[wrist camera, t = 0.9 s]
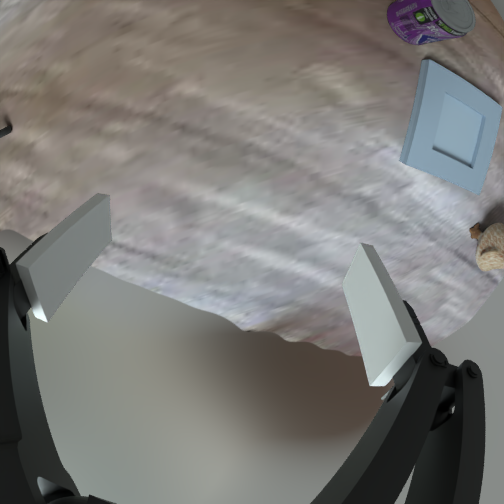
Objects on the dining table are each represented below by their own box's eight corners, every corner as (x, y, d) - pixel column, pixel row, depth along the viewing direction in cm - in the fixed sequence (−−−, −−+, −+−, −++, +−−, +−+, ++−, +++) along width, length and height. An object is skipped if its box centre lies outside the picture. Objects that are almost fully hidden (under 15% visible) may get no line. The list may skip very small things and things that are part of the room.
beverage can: (390, 42, 25) (436, 27, 15) (380, -1, 21) (419, -28, 11) (432, 49, 24) (483, 42, 14) (423, 7, 20) (469, -11, 10)
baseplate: (421, 60, 25) (429, 59, 23) (494, 105, 26) (502, 107, 24) (399, 160, 34) (405, 164, 32) (471, 190, 34) (479, 195, 32)
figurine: (501, 216, 36) (549, 258, 23) (483, 259, 41) (523, 306, 28) (474, 206, 36) (527, 251, 23) (455, 254, 41) (498, 307, 28)
